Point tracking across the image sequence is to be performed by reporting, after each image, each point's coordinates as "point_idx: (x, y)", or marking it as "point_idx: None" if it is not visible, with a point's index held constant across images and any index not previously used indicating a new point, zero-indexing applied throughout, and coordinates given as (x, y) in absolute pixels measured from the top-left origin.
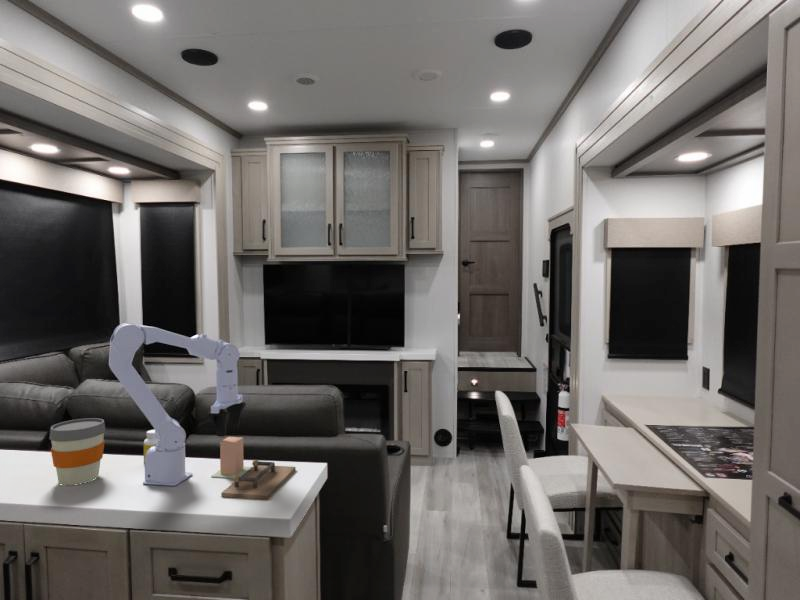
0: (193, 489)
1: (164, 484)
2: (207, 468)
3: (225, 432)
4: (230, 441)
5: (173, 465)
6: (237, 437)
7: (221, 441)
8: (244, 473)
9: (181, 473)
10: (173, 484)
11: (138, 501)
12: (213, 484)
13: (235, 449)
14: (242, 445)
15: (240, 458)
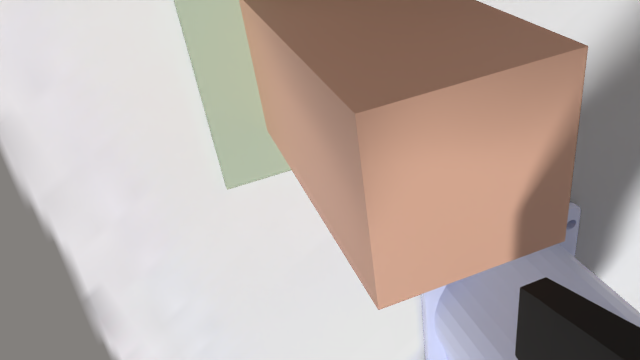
0: (604, 77)
1: (574, 252)
2: (300, 265)
3: (574, 306)
4: (546, 146)
5: (624, 300)
6: (376, 192)
7: (551, 239)
8: None
9: (539, 255)
10: (580, 212)
11: None
12: (533, 15)
13: (520, 21)
14: (339, 63)
15: (336, 11)
